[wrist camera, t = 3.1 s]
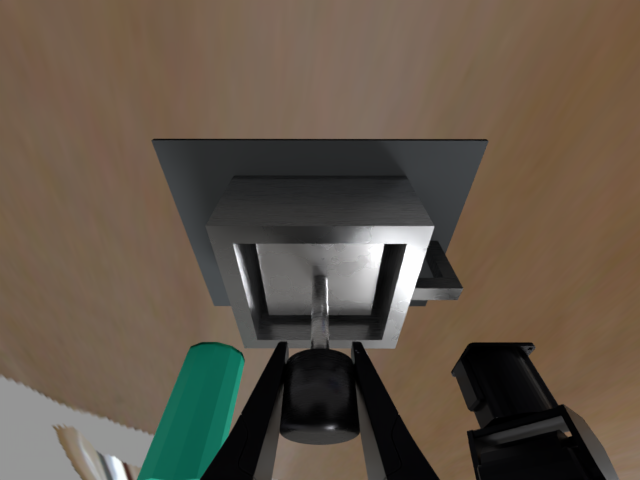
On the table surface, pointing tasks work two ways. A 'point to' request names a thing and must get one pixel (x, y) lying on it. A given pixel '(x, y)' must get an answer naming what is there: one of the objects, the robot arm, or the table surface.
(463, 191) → the slate mat
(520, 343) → the robot arm
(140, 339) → the table surface
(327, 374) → the plunger
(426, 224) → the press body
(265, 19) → the table surface
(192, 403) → the candle
